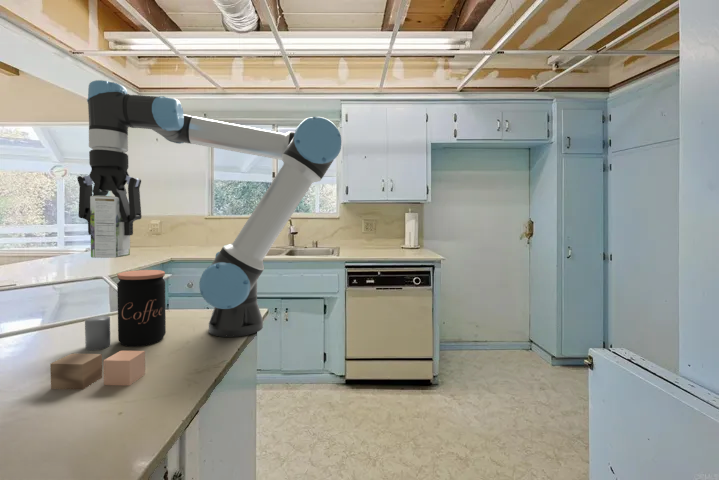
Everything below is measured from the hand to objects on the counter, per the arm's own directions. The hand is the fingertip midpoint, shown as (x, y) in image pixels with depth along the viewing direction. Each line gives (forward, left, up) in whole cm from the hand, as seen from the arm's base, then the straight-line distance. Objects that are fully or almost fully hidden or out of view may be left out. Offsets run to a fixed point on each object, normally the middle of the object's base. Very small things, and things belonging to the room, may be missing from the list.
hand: (111, 248), depth 84 cm
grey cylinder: (+5, -2, -25) cm, 25 cm away
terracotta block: (-13, +15, -25) cm, 32 cm away
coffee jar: (-3, -7, -25) cm, 26 cm away
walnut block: (-5, +17, -25) cm, 31 cm away
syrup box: (0, 0, -2) cm, 2 cm away
